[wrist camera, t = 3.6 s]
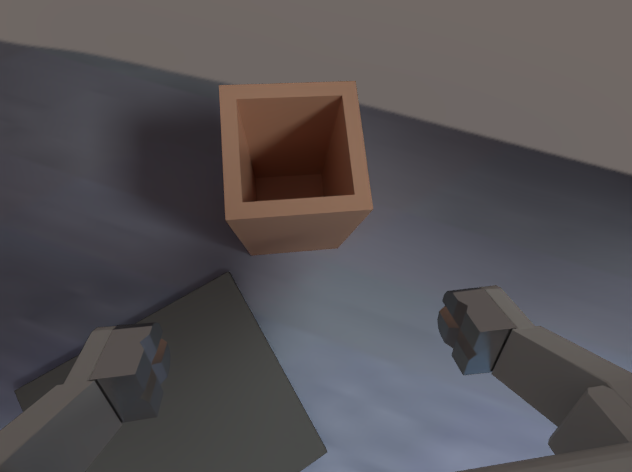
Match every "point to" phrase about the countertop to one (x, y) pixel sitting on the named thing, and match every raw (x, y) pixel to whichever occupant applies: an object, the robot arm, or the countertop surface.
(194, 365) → the mat
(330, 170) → the open square container
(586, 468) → the robot arm
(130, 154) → the countertop surface
